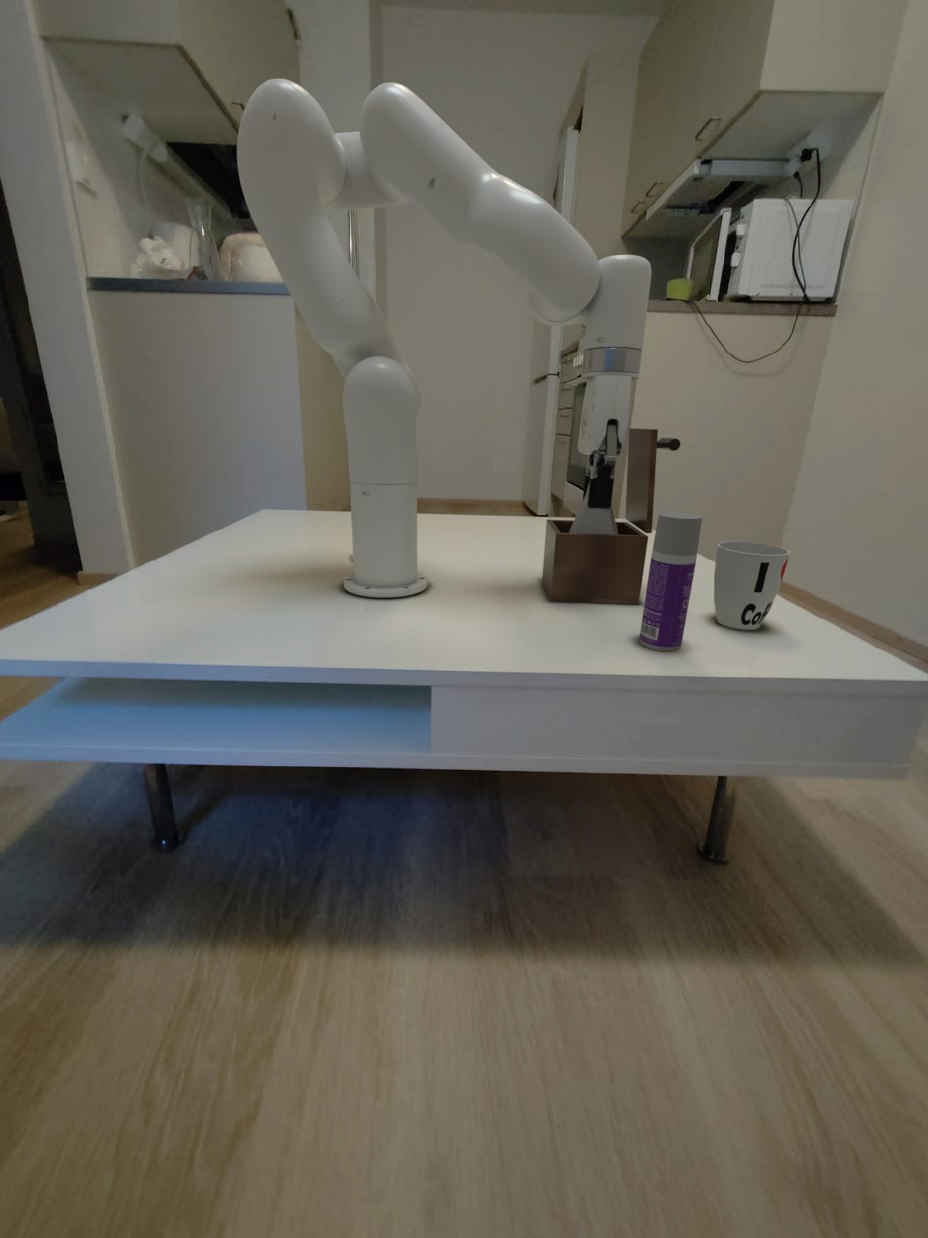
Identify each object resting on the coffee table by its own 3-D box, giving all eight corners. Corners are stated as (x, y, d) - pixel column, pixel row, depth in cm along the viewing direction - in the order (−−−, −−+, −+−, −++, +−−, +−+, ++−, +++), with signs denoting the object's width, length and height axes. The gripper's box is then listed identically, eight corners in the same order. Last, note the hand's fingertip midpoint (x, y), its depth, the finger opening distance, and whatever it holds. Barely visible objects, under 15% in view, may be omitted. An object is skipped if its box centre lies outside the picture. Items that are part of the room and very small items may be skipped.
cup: (744, 638, 66) (761, 557, 63) (690, 617, 73) (703, 543, 70) (786, 628, 70) (804, 551, 67) (731, 609, 77) (745, 539, 73)
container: (684, 653, 61) (708, 519, 56) (641, 649, 62) (660, 517, 57) (677, 638, 66) (699, 513, 61) (637, 634, 67) (655, 510, 61)
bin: (550, 601, 78) (556, 533, 75) (542, 579, 89) (546, 519, 86) (638, 604, 78) (648, 536, 75) (619, 582, 89) (627, 521, 85)
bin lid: (651, 429, 70) (690, 427, 70) (629, 428, 81) (662, 426, 81) (645, 533, 74) (682, 531, 74) (625, 519, 85) (657, 517, 85)
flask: (568, 539, 78) (575, 466, 74) (568, 530, 84) (574, 463, 81) (621, 542, 77) (630, 468, 73) (616, 533, 83) (624, 465, 80)
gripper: (573, 371, 81) (562, 497, 87) (594, 359, 65) (579, 514, 71) (624, 372, 81) (609, 499, 87) (657, 360, 65) (637, 515, 71)
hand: (596, 504), depth 79 cm, fingers closed on flask, 3 cm apart
